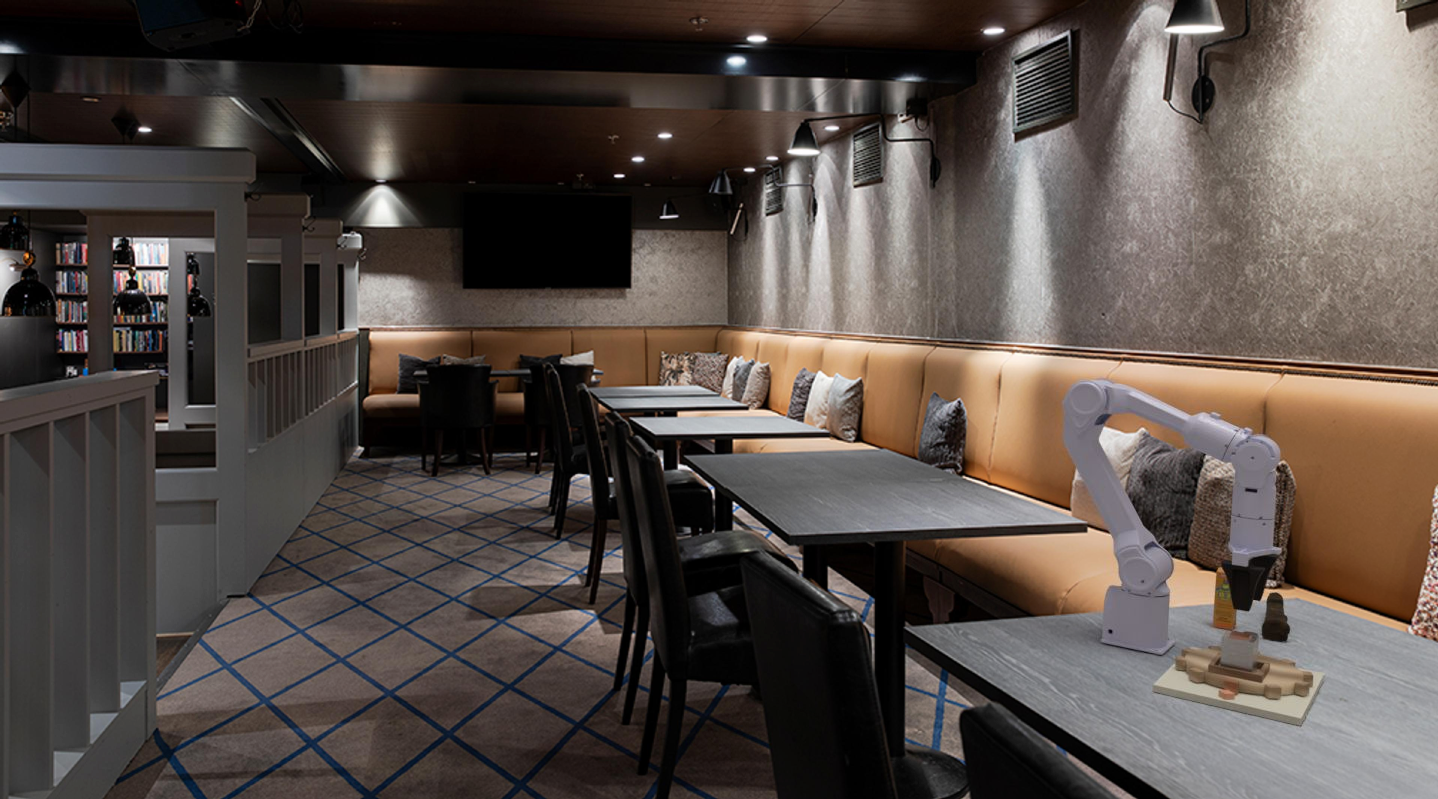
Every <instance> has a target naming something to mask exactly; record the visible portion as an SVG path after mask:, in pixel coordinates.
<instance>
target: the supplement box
mask: <svg viewBox="0 0 1438 799" xmlns="http://www.w3.org/2000/svg"><path fill="white" fill-rule="evenodd" d="M1214 587H1215V588H1214V598H1213V599H1214V601H1213V602H1214V603H1213V614H1212V615H1213V616H1212V618H1213V619H1212V627H1213V628H1217V629H1223V630H1229V631H1234V628H1235V627H1236V626H1237V611H1238V610H1236V609H1234V608H1233V604H1232V599H1231V593H1230V587H1229V583H1228V580H1227V577H1226V575H1225V573H1224V571H1223V569H1222V566H1221V567H1218V568H1217V570H1216V574H1215V586H1214Z"/></svg>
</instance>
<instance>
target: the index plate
mask: <svg viewBox="0 0 1438 799" xmlns="http://www.w3.org/2000/svg"><path fill="white" fill-rule="evenodd" d="M1189 648H1191V649H1194V650H1198V649H1202V648H1201V647H1200V648H1199V647H1197V646H1196V647H1194V646H1190V647H1189ZM1180 656H1181V657H1182V655H1180ZM1297 668H1298V669H1299V670H1300V671H1308V672H1311V673H1312V674H1313V686H1310V688H1309V694H1308V695H1305V696H1301V695H1298V694H1295V693H1293V694H1287V695H1281V699H1276V698H1268V697H1266V696H1265V695H1260V694H1251V693H1244V692H1238V693H1237V694H1234V693H1233V692H1231V691H1229V690H1224V688H1221V687H1217V686H1214V685H1211V684H1208V683H1205V682H1199V683H1196V682H1194V681H1192V680H1190V679H1188V676H1189V673H1188V672H1187V671H1186V670H1178V669H1176V667H1175V662H1174V664H1172V665H1171V666H1170V667H1169V668H1168V669H1167V670H1166V671H1165V672H1164V673H1163V674H1162V675H1161V676H1160V677H1159V678H1157V680H1156V681H1155V682H1154V683H1153V684H1152V693H1158V694H1161V695H1166V696H1170V697H1175V698H1177V699H1183V700H1186V701H1192V702H1194V703H1195V702H1196V703H1201V704H1204V705H1209V706H1213V707H1217V708H1221V709H1226V710H1231V711H1234V712H1238V713H1243V714H1247V715H1250V716H1251V715H1252V716H1256V717H1261V718H1265V719H1267V720H1268V719H1269V720H1273V721H1278V722H1281V723H1285V724H1286V723H1287V724H1291V725H1295V726H1299V727H1301V726H1302V725H1303V723H1304V721H1305V719H1306V717H1307V714H1308V713H1309V711H1310V708H1311V707H1312V705H1313V703H1314V701H1315V699H1316V698H1317V695H1318V693H1319V691H1320V689H1321V687H1322V685H1323V683H1324V681H1325V677H1326V676H1325V673H1324V672H1321V671H1320V672H1319V671H1315V670H1312V669H1311V670H1310V669H1304V668H1300V667H1297Z"/></svg>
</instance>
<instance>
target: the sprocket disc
mask: <svg viewBox="0 0 1438 799" xmlns="http://www.w3.org/2000/svg"><path fill="white" fill-rule="evenodd" d="M1242 632H1243V633H1249V634H1252V635H1256V636H1259V633H1257V632H1255V631H1246V630H1245V631H1242ZM1181 656H1182V657H1181ZM1220 662H1221V646H1220V645H1208V647H1207V648H1201V649H1198V650H1194V649H1191V648H1190V647H1185V648H1182V649H1181V655H1176V656H1175V662H1174V663H1175V667H1176V669H1178V670H1186V671H1187V672H1188V673H1189V676H1188V679H1190V680H1192V681H1194V682H1196V683H1199V682H1205V683H1208V684H1211V685H1214V686H1217V687H1221V688H1224V690H1229V691H1231V692H1233V693H1234V694H1237V693H1238V692H1244V693H1251V694H1260V695H1265V696H1266V697H1268V698H1276V699H1281V695H1287V694H1293V693H1295V694H1298V695H1301V696H1305V695H1308V694H1309V688H1310V686H1313V674H1312V673H1311V672H1308V671H1300V670H1299V669H1298V668H1299V667H1296V662H1295V661H1293V660H1290V659H1287V658H1283V659H1280V658H1276V657H1272V656H1269V655H1264V654H1261V653H1260V651H1259V650H1258V663H1257V671H1256V673H1251V672H1247V671H1242V670H1237V669H1232V668H1227V667H1222V666H1220Z"/></svg>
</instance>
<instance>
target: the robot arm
mask: <svg viewBox="0 0 1438 799" xmlns="http://www.w3.org/2000/svg"><path fill="white" fill-rule="evenodd" d="M1061 407H1062V410H1063V423H1062V424H1063V426H1062V428H1063V429H1062V442H1063V445H1064V447H1065V449H1066V450H1067V453H1068V455H1069V456H1070V458H1071V460H1072V462H1073V464H1074V467H1075V468H1076V470H1077V472H1078V474H1079V476H1080V478H1081V480H1082V482H1083V483H1084V486H1085V488H1086V490H1087V491H1088V493H1089V495H1090V497H1091V499H1092V501H1093V503H1094V505H1095V507H1096V509H1097V510H1098V513H1099V514H1100V517H1101V519H1102V520H1103V522H1104V525H1105V526H1106V528H1107V531H1108V532H1109V534H1110V537H1111V538H1112V541H1113V543H1112V544H1113V555H1114V557H1115V559H1116V561H1117V565H1118V577H1119V579H1120V582H1121V584H1120V585H1115V584H1114V585H1113V584H1112V585H1109V586H1108V587H1107V589H1106V591H1105V595H1104V600H1103V610H1102V611H1103V613H1102V614H1103V615H1102V631H1101V632H1102V635H1101V638H1100V643H1102V644H1106V645H1113V646H1116V647H1117V646H1118V647H1121V648H1127V649H1132V650H1135V651H1141V652H1146V653H1150V654H1155V655H1161V656H1163V655H1164V654H1165V653H1166V652H1167V651H1168V650H1170V649H1171V648H1172V647H1173V645H1175V643H1176V641H1175V640H1173V639H1169V637H1168V636H1169V617H1170V600H1171V599H1170V598H1171V594H1170V593H1171V589H1170V586H1168V583H1167V580H1169V579H1170V578H1171V577H1172V575H1173V573H1174V571H1175V562H1174V559H1173V557H1172V555H1171V553H1170V552H1169V551H1168V550H1166V549H1165V548H1164V547H1163V546H1161V545H1160V543H1158V540H1157V539H1156V537H1155V535H1154V534H1153V533H1151V531H1150V530H1148V529H1147V528H1146V527H1145V526H1144V525H1143V522H1142V520H1141V518H1140V516H1139V515H1138V513H1137V511H1136V509H1135V507H1134V505H1133V503H1132V501H1131V499H1130V497H1129V495H1128V494H1127V491H1126V490H1125V488H1124V486H1123V484H1122V482H1121V480H1120V478H1119V476H1118V475H1117V473H1116V471H1115V468H1114V467H1113V465H1112V464H1111V461H1110V459H1109V458H1108V455H1107V453H1106V451H1105V450H1104V447H1103V446H1102V444H1101V442H1100V437H1101V435H1102V432H1103V429H1104V427H1105V426H1106V423H1107V421H1108V420H1109V419H1110V418H1111V417H1113V415H1122V414H1131V415H1134V416H1136V417H1139V418H1142V419H1144V420H1147V421H1150V422H1152V423H1154V424H1157V425H1159V426H1161V427H1164V428H1166V429H1169V430H1171V431H1174V432H1176V433H1178V434H1180V435H1181V437H1182V438H1183V441H1184V444H1185V446H1187V447H1190V448H1192V449H1193V450H1196V451H1198V452H1201V453H1203V454H1205V455H1207V456H1210V457H1211V458H1214V459H1216V460H1218V461H1220V462H1223V463H1224V464H1228V463H1231V466H1232V468H1233V469H1234V483H1233V484H1232V498H1231V499H1232V501H1231V514H1230V515H1231V518H1230V529H1229V530H1230V531H1229V532H1230V533H1229V534H1230V535H1229V541H1228V542H1227V543H1228V545H1227V548H1228V549H1229V550H1230V552H1231V553H1232V554H1231V555H1232V556H1231V560H1230V559H1223V560H1222V561H1221V562H1220V566H1221V567H1222V569H1223V571H1224V573H1225V575H1226V577H1227V580H1228V583H1229V587H1230V593H1231V599H1232V604H1233V608H1234V609H1236V610H1237V611H1242V612H1246V613H1247V612H1250V611H1251V609H1252V606H1253V603H1254V601H1255V602H1261V600H1262V599H1263V596H1264V592H1265V589H1266V586H1267V582H1268V579H1269V576H1270V574H1271V571H1272V569H1273V567H1274V565H1275V564H1276V562H1277V561H1278V560H1279V555H1280V554H1282V550H1283V549H1282V548H1281V547H1276V546H1274V531H1275V518H1276V514H1275V513H1276V505H1277V504H1276V501H1277V487H1276V483H1277V470H1275V469H1276V468H1277V467H1278V465H1279V463H1280V461H1281V456H1282V455H1281V454H1282V452H1281V449H1280V446H1279V445H1278V444H1277V443H1276V442H1275V440H1272V438H1270V437H1268V436H1267V435H1266V434H1258V433H1257V434H1253V432H1254V431H1253V429H1252V428H1249V427H1244V428H1241V427H1239V426H1236V425H1234V424H1232V423H1230V422H1227V421H1225V420H1222V419H1221V418H1222V415H1221V414H1219V413H1217V412H1216V411H1215V412H1214V411H1213V412H1210V414H1209V413H1207V412H1203V411H1202V412H1199V413H1197V414H1194V415H1191V414H1189V413H1187V412H1184V411H1182V410H1180V409H1179V408H1176V407H1174V406H1172V405H1170V404H1168V403H1166V402H1163V401H1162V400H1159V399H1158V398H1156V397H1153V396H1151V395H1150V394H1146V392H1143V391H1140V390H1139V389H1137V388H1134V387H1132V386H1129V385H1127V384H1124V383H1119V382H1117V383H1116V382H1114V381H1112V380H1111V379H1110V378H1103V377H1101V378H1100V377H1099V378H1096V379H1081V380H1078V381H1076V382H1075V383H1073V384H1072V385H1071V386H1070V387H1069V389H1068V391H1067V392H1066V395H1065V397H1064V399H1063V400H1062V403H1061ZM1252 434H1253V435H1252Z"/></svg>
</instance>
